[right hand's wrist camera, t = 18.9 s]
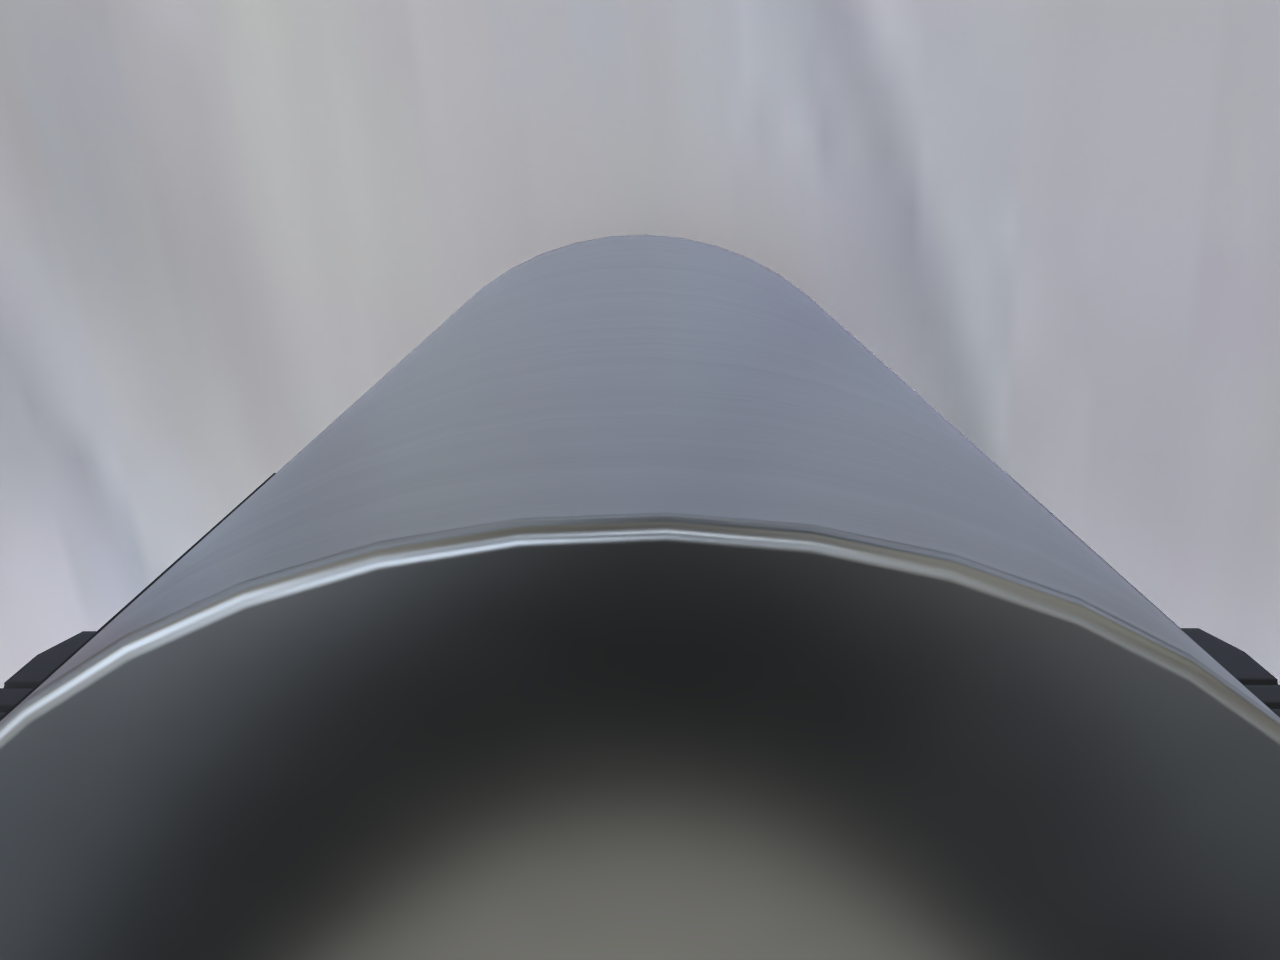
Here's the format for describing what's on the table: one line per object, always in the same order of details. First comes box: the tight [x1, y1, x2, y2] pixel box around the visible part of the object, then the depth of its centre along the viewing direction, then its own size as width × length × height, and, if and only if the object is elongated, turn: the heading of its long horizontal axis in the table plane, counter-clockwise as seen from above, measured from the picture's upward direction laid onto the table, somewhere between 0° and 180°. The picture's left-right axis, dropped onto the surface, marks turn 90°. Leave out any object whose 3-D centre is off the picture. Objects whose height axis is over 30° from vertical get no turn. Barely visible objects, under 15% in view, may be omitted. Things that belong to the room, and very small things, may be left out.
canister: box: [0, 235, 1280, 960], centre depth 11 cm, size 9×9×12 cm
